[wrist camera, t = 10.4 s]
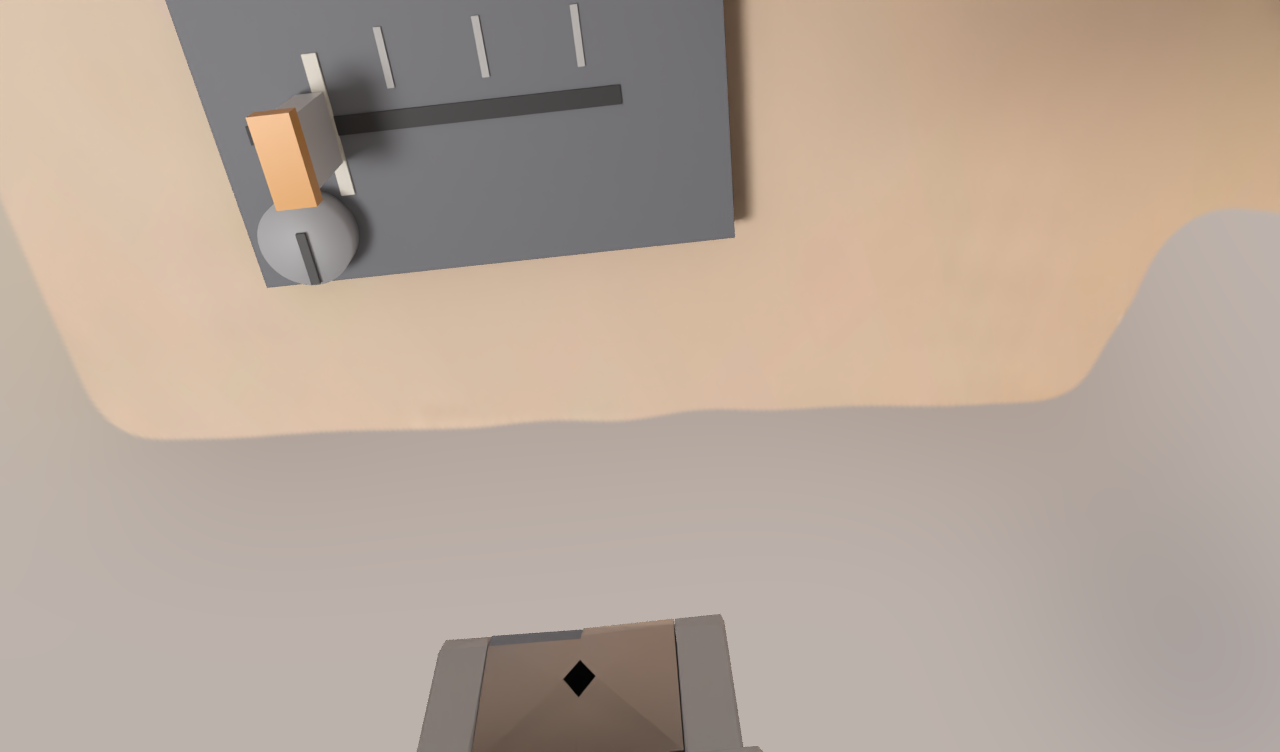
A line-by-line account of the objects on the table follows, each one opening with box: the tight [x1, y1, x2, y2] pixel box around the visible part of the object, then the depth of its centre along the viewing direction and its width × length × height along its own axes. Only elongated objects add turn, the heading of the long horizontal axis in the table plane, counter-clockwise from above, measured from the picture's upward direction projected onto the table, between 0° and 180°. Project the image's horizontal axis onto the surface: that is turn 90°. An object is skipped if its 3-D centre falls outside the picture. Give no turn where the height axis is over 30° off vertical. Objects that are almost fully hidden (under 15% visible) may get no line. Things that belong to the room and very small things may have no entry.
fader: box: [246, 92, 343, 211], centre depth 35 cm, size 2×4×5 cm, turn 6°
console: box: [165, 0, 735, 288], centre depth 37 cm, size 22×14×4 cm, turn 96°
